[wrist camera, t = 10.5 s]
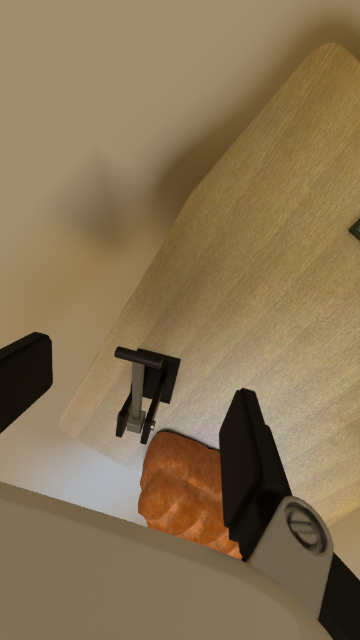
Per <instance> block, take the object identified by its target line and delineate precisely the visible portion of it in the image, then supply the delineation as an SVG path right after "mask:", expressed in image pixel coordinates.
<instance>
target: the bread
mask: <svg viewBox="0 0 360 640" xmlns="http://www.w3.org/2000/svg"><path fill="white" fill-rule="evenodd" d="M140 486H141V489H142V492H141V494H140V497H139V501H138V513H139V514H141V515H142V516H144V518H145V519H146V521H147V524H148V528H152V529H155V530H158V531H161V532H164V533H167V534H170V535H173V536H176V537H179V538H182V539H185V540H188V541H191V542H194V543H197V544H200V545H203V546H206V547H209V548H212V549H215V550H217V551H220V552H222V553H225V554H227V555H229V556H232V557H234V558H237V559H239V560H240V559H241V557H242V556H241V554H240V552H239V543H238V542H234V541H231V540H229V532H228V528H226V527H225V526H224V521H223V503H222V484H221V464H220V452H218V451H216V450H210V449H208V448H207V447H205V446H204V445H203V444H200V443H198V442H196V441H193V440H190V439H187V438H184V437H182V436H180V435H177V434H174V433H169V432H160V433H157V435H156V436H155V437H154V438H153V440H152V441H151V443H150V446H149V448H148V451H147V453H146V456H145V459H144V463H143V471H142V477H141V481H140Z"/></svg>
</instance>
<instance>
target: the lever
mask: <svg viewBox="0 0 360 640" xmlns="http://www.w3.org/2000/svg"><path fill="white" fill-rule="evenodd" d="M114 356H115V357H116V358H120V359H124V360H127V361H131V362H133V366H132V411H131V413H130V416H129V418H128V421H127V430H128V431H132V432H135V433H139V434H140V433H141V430H142V427H143V424H144V421H145V414H146V411H142V410H141V406H142V392H143V378H144V365H146V366H150V367H154V368H158V369H160V367H161V364H162V360H163V358H161V357H157V356H154V355H150V354H146V353H142V352H138V351H134V350H131V349H127V348H123V347H117V348H116V351H115V355H114Z"/></svg>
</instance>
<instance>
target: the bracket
mask: <svg viewBox="0 0 360 640" xmlns="http://www.w3.org/2000/svg"><path fill="white" fill-rule="evenodd" d="M137 351H138V352H142V353H146V354H150V355H154V356H157V357H161V358H163V360H162V364H161V367H160V369H158V368H154V367H150V366H146V365H144V378H143V392H142V397H145V398H149V399H153V400H152V402H151V405H150V408H149V411H148V413H147V416H146V419H145V422H144V426H143V431H142V436H141V441H140V443H142V444H147V441H148V437H149V434H150V431H151V430H152V431H153V430H154V427H155V423H156V421H154V418H155V415H156V412H157V409H158V405H159V402H164V403H168V404H170V400H171V396H172V392H173V388H174V384H175V380H176V376H177V372H178V368H179V364H180V360H181V359H177V358H174V357H170V356H166V355H162V354H158V353H154V352H150V351H147V350H143V349H139V348H138V350H137ZM131 411H132V383H131V390H130V394H129V396H128V398H127V400H126V402H125V403H124V405H123V407H122V409H121V411H120V412H119V413H118V416H117V428H116V436H117V437H122V435H123V433H124V431H125V429H126V426H127V421H128V418H129V416H130V413H131Z"/></svg>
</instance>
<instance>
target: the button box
mask: <svg viewBox="0 0 360 640" xmlns="http://www.w3.org/2000/svg"><path fill="white" fill-rule="evenodd" d="M349 231H350V232H351V233H352V234H353V235H355V236H356V237H357V238H358V239H359V240H360V219H359V220H358V221H357V222H356V223H355V224H354V225H353V226H352V227H351V228H350V229H349Z"/></svg>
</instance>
